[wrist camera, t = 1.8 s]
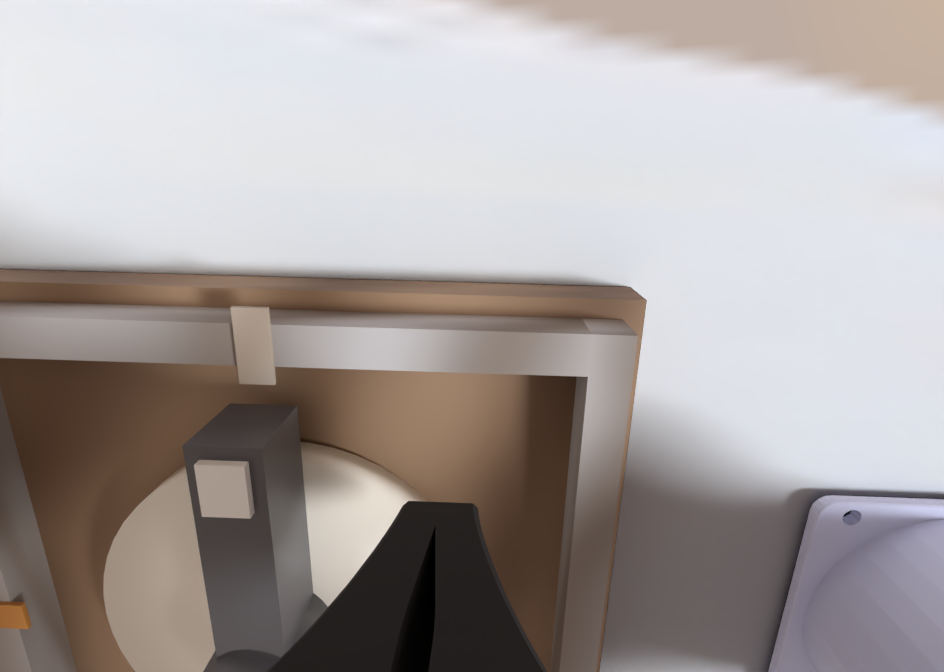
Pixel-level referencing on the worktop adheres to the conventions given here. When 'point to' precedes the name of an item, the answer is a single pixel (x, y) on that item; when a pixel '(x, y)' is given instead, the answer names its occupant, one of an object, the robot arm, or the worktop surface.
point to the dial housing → (312, 425)
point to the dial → (243, 544)
